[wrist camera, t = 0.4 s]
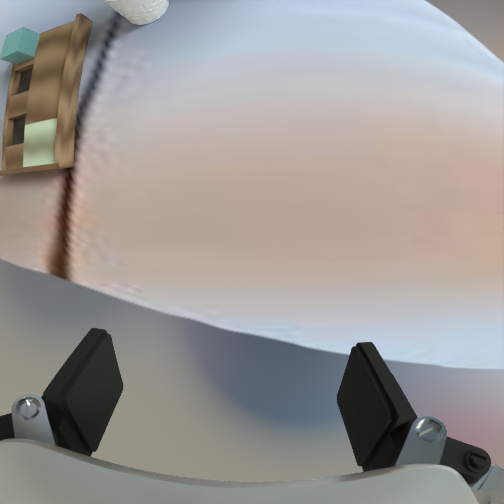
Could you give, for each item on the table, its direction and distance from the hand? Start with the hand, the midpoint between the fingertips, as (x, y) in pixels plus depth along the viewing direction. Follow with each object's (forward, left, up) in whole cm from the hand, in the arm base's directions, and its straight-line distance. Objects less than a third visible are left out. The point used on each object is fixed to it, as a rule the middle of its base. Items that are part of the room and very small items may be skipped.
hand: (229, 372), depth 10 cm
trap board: (-19, -34, -31) cm, 50 cm away
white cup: (-32, -16, -31) cm, 47 cm away
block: (-29, -38, -29) cm, 56 cm away
